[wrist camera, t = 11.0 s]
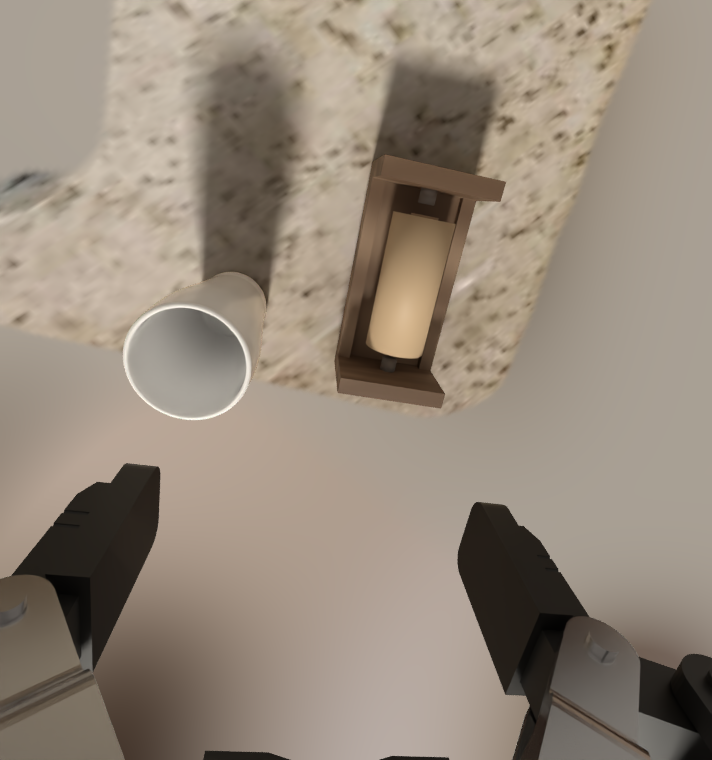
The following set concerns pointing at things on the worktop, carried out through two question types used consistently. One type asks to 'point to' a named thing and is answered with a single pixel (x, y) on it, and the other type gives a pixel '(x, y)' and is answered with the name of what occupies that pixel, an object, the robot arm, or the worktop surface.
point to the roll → (409, 284)
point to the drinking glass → (197, 347)
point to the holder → (384, 195)
